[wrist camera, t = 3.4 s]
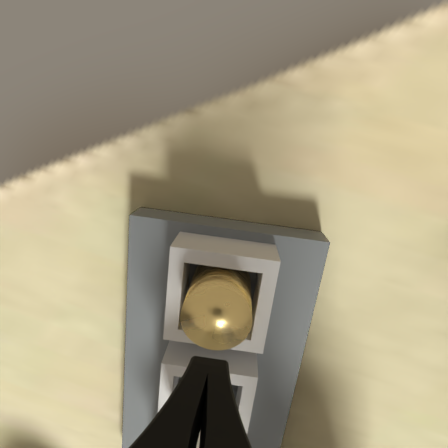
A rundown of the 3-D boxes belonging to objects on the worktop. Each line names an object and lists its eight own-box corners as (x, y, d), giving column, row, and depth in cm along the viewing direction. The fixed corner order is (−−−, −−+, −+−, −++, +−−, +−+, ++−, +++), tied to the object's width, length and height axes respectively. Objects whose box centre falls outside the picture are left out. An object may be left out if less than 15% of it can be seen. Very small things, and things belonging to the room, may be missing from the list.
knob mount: (266, 471, 26) (271, 538, 22) (130, 449, 26) (107, 511, 22) (321, 231, 20) (343, 259, 15) (140, 207, 20) (112, 227, 16)
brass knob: (246, 311, 19) (246, 355, 15) (190, 303, 19) (177, 344, 16) (254, 259, 18) (257, 293, 14) (195, 251, 18) (183, 282, 15)
